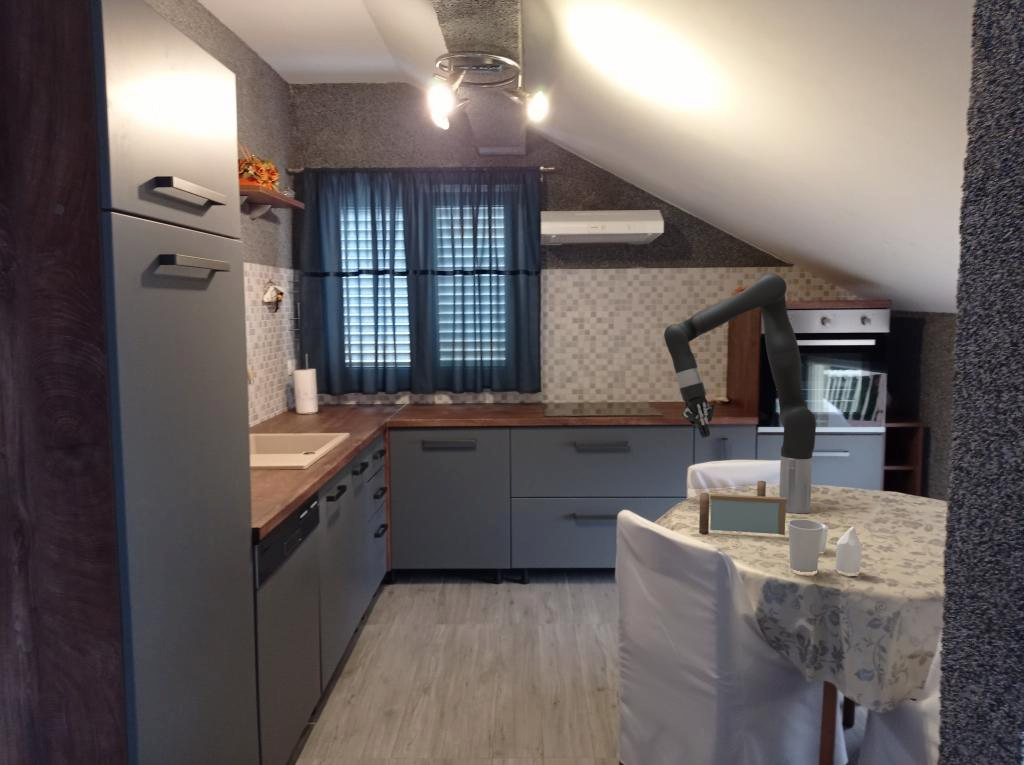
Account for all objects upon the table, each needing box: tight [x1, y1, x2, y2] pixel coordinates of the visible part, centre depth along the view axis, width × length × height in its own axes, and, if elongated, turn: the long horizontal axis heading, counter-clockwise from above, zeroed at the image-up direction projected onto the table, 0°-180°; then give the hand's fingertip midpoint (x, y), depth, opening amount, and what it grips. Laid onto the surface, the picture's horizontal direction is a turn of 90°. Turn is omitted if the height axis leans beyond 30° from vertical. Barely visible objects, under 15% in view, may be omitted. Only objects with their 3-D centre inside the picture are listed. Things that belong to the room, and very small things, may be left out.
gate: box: [709, 493, 787, 536], centre depth 198 cm, size 20×2×10 cm, turn 77°
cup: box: [787, 518, 823, 572], centre depth 173 cm, size 8×8×12 cm
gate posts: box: [698, 480, 767, 535], centre depth 207 cm, size 27×3×11 cm, turn 121°
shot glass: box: [819, 522, 829, 553], centre depth 187 cm, size 7×7×7 cm
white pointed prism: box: [834, 525, 863, 573], centre depth 172 cm, size 6×12×6 cm
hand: (706, 436), depth 222 cm, fingers closed
